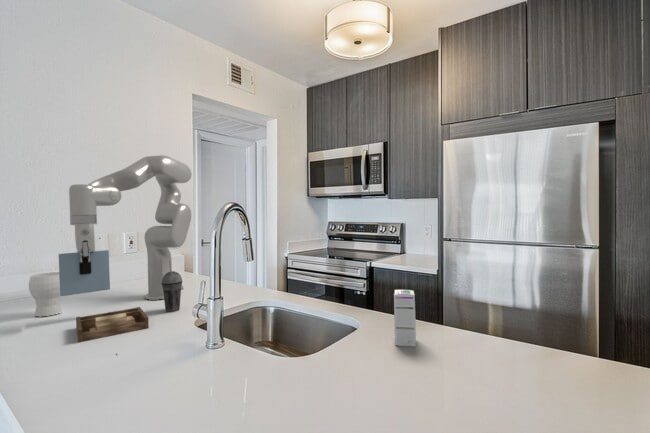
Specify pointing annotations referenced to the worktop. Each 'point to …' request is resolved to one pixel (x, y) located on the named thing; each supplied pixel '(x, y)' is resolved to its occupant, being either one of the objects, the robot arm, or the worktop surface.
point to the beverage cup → (172, 290)
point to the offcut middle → (116, 324)
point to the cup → (46, 293)
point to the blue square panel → (87, 282)
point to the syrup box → (404, 318)
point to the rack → (89, 322)
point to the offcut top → (111, 319)
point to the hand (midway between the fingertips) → (85, 273)
